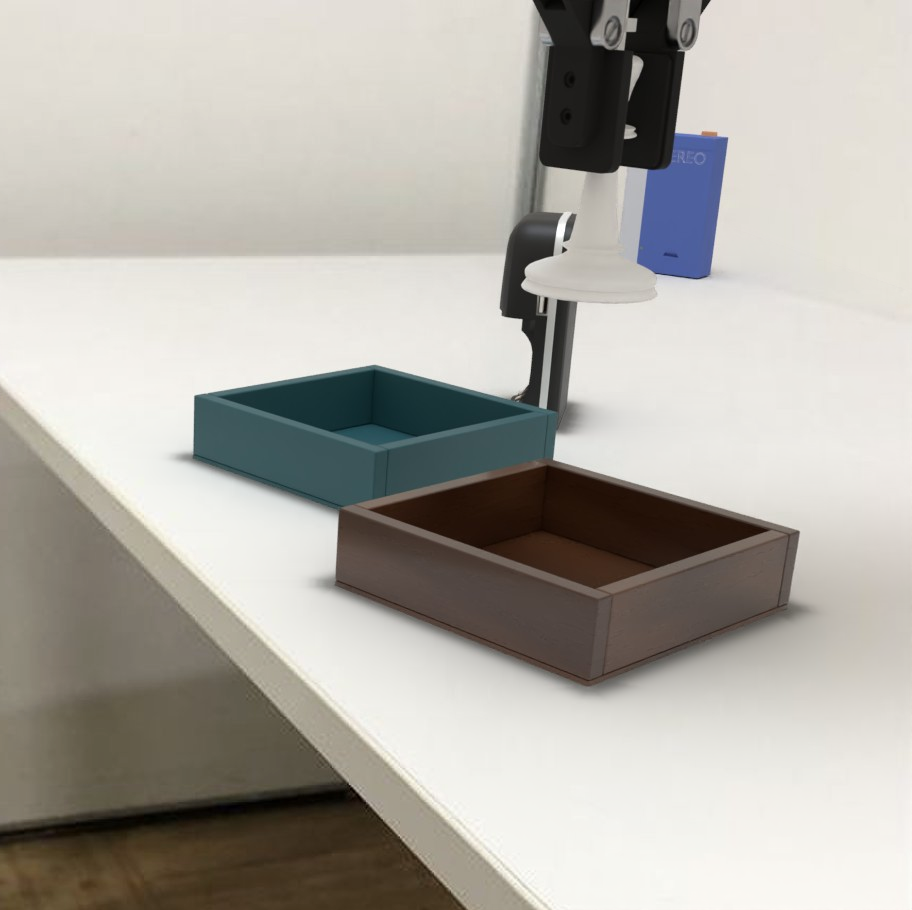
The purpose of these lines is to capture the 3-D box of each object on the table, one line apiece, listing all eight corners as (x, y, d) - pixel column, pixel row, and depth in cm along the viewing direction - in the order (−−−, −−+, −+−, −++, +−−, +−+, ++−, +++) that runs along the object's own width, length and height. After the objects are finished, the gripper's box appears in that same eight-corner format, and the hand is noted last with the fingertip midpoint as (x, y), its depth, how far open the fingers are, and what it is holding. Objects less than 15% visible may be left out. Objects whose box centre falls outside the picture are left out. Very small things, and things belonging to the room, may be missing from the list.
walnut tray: (537, 535, 72) (545, 457, 71) (786, 617, 63) (801, 530, 62) (333, 594, 64) (338, 507, 63) (586, 697, 56) (598, 599, 54)
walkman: (710, 275, 142) (729, 132, 137) (697, 278, 140) (716, 134, 135) (628, 264, 146) (644, 125, 142) (614, 267, 144) (630, 127, 140)
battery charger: (501, 404, 95) (519, 204, 91) (566, 410, 94) (587, 208, 90) (485, 432, 89) (503, 219, 84) (555, 439, 88) (577, 224, 83)
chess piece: (494, 288, 59) (520, -6, 55) (569, 275, 62) (598, -3, 59) (610, 309, 56) (646, -1, 52) (682, 294, 59) (721, 2, 56)
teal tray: (371, 429, 88) (374, 364, 87) (551, 483, 80) (558, 412, 78) (192, 465, 80) (193, 395, 79) (371, 530, 72) (375, 451, 71)
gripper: (612, -521, 43) (542, 191, 50) (910, -411, 53) (818, 169, 60) (408, -474, 48) (371, 166, 55) (715, -381, 58) (651, 150, 65)
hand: (604, 163), depth 57 cm, fingers closed on chess piece
